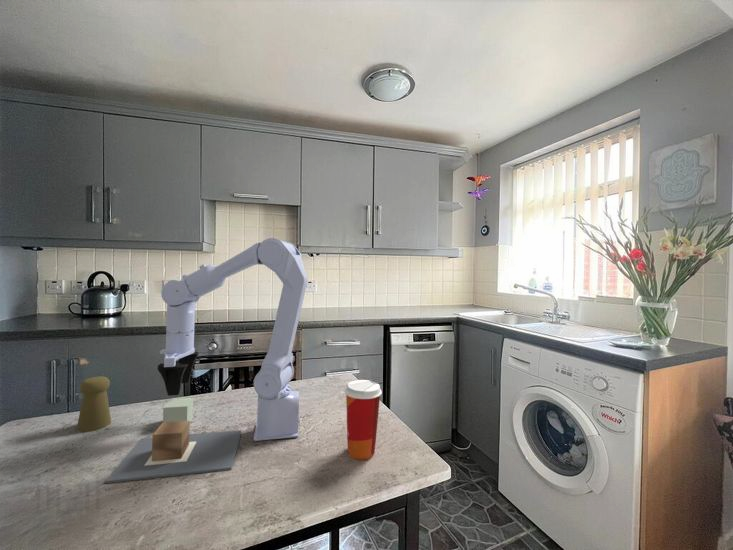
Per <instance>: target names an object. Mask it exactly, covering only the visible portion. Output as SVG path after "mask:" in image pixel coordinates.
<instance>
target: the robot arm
mask: <svg viewBox="0 0 733 550" xmlns="http://www.w3.org/2000/svg"><path fill="white" fill-rule="evenodd" d="M256 265H258V266H259V265H260V266H261V265H262V266H263V265H264V266H266V268H268V269H269V270H271V271H272V272H274V274H275V275H276V276H277V277H278V278H279V280H280V281H281V282H282V289H281V294H280V298H279V302H278V306H277V311H276V317H275V320H274V325H273V329H272V334H271V337H270V338H271V339H270V343H269V347H268V351H267V353H266V355H265V357H264V359H263V361H262V363H261V367H260V370H259V371H258V373H256V375H255V377H254V379H253V388H254V391H255V392H256V394H257V412H256V413H257V414H256V415H257V416H256V417H257V418H256V424H255V427H254V428H255V429H254V433H253V438H252V439H253V440H252V441H254V442H257V441H268V440H270V441H271V440H279V439H280V440H282V439H289V438H290V439H291V438H298V437H299V424H300V421H301V419H300V413H299V412H300V391H298V390H297V391H296V390H291V385H290V382H291V380H292V379H293V377H294V374H295V373H294V372H295V370H294V366H293V361H294V355H293V348H294V343H295V339H296V334H297V330H298V325H299V321H300V316H301V311H302V307H303V301H304V298H305V293H306V289H307V285H308V274H307V271H306V269H305V265H304V263H303V259H302V253H301V251H299V249H298V248H297V247H296V246H295V245H294V244H293V243H292V242H289V241H284V240H281V239H279V238H277V237H276V238H275V237H269V238H266V239H264V240H262V241H261V242H256V243H254V244H253V245H251V246H250V247H248V248H247V249H245V250H243V251H241V252H240V253H237V254H236V255H234V256H233V257H231V258H229V259H227V260H225V261H224V262H222V263H220V264H219V265H215V264H210V263H209V264H207V263H206V264H200V265H199V267H198V268H199V269H197V270H195V271H193V272H192V273H190V274H188V273H186V274H183V275H182V277H181V279H180V280H178V279H170V280H169V281H167V282H166V283H165V284H164V285H163V287H162V288H161V298H162V301H163V302H164V303H165V304H166V325H165V326H166V328H165V329H166V331H165V332H166V333H165V335H166V336H165V348H164V349H161V350H159V355H164V359H163V363H160V364H158V365H157V371H158V372H159V373H160V375H161V378H162V380H163V382H164V386H165V390H166V395H167V396H178V395H179V394H180V393H181V388H182V384H189V382H190V380H191V375H192V371H193V368H194V364H195V362H196V360H197V358H198V356H199V353H200V352H199V351H195V350H196V348H195V323H196V322H195V321H196V320H195V317H196V316H195V315H196V308H197V302H198V301H199V300H200V299H201V297H203V296H205V295H207V294H209V293H211V292H213V291H214V290H216V289H219V288H221V287H223V285H224V284H225V281H226V279H227V278H229V277H232V276H233V275H236V274H238V273H239V272H242V271H245V270H247V269H249V268H252V267H254V266H256Z"/></svg>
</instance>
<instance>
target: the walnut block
mask: <svg viewBox="0 0 733 550" xmlns="http://www.w3.org/2000/svg"><path fill="white" fill-rule="evenodd" d="M190 424H191V422H190V421H177V422H163V421H162V423H161V424H160V425H159V426H158V428H157V429H156V430H155V431H154V433H153V434H152V437H151V438H152V461H161V460H172V459H181V458H182V456H183V455H184V453H185V451H186V449H187V447H188V446H189V434H190V427H191V426H190Z"/></svg>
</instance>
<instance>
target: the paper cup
mask: <svg viewBox="0 0 733 550" xmlns="http://www.w3.org/2000/svg"><path fill="white" fill-rule="evenodd" d="M344 393H345V396H346V403H345V404H346V433H347V434H346V437H347V454H348V456H349V455H350V456H349V457H351V458H352V459H354V458H355V460H357V461H359V460H360V461H363V459H366V460H369V459H371V458H372V457H374V455H375V450H376V443H377V433H378V432H377V431H378V422H379V411H380V410H379V409H380V400H381V399H380V398H381V395H382V394H383V393H382V389H381V386H380V384H379V383H376V382H374V381H372V380H368V379H356V380H353V381H349V382H348V383H347V385H346V388H345V389H344ZM370 457H371V458H370ZM368 458H369V459H368Z"/></svg>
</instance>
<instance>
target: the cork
mask: <svg viewBox="0 0 733 550" xmlns="http://www.w3.org/2000/svg"><path fill="white" fill-rule="evenodd" d="M110 385H111V381H110V379H109V378H108V377H106V376H101V375H100V376H94V377H93V376H92V377H89V378H88V377H87V378H86V379H85V380H83V381H82V382H81V384H80V387H79V391H80V393H81V394H82V399H81V405H80V410H79V414H78V419H77V426H76V431H77V430H78V431H77V432H80V433H88V432H89V433H90V432H95V431H99V430H102V429H104V428H106V427H107V425H108V426H109V425H110V424H111V423H112V418H111V411H110V404H109V398H108V392H107V390H109V388H110ZM103 427H104V428H103ZM101 428H102V429H101ZM98 429H99V430H98Z"/></svg>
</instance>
